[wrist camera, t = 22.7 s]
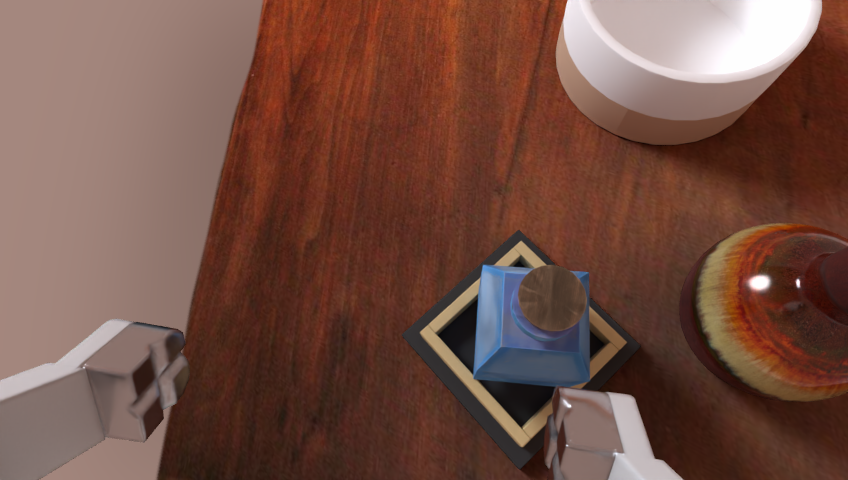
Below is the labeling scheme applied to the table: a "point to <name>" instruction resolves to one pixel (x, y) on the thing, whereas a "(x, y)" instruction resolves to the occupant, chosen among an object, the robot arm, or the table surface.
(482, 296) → the perfume bottle
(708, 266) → the vase
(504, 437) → the picture frame
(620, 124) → the bowl
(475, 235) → the table surface
